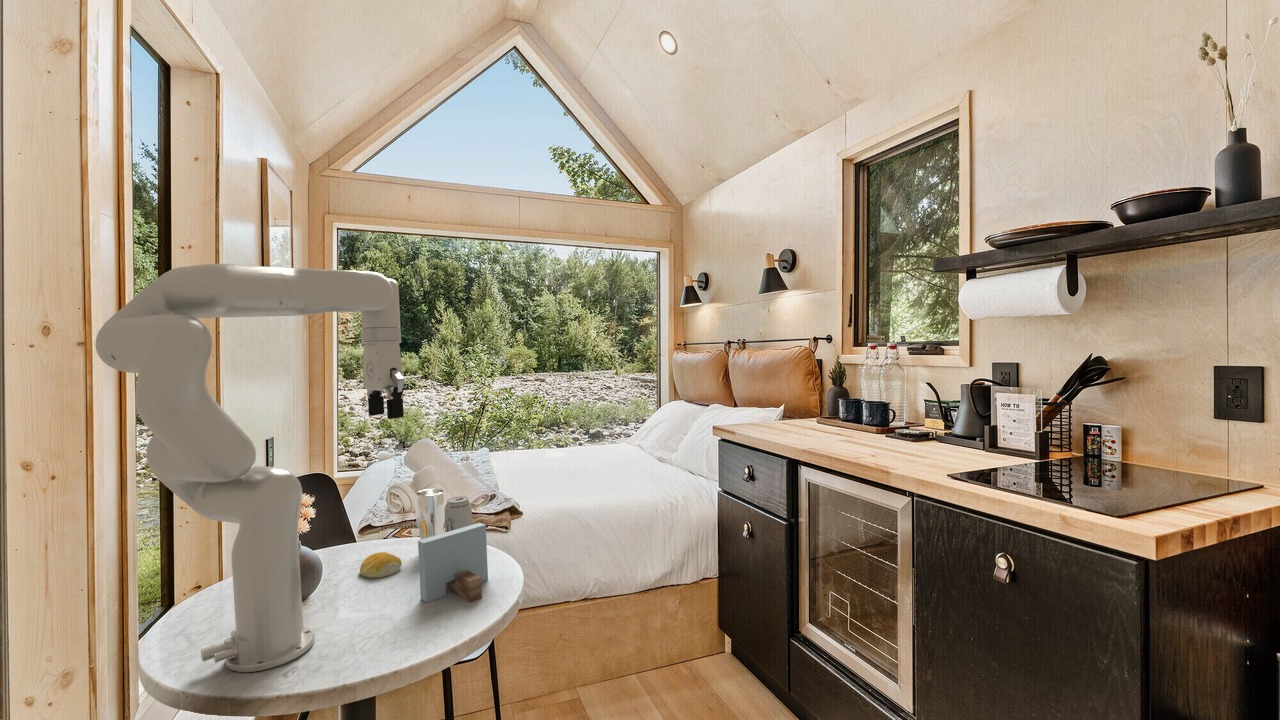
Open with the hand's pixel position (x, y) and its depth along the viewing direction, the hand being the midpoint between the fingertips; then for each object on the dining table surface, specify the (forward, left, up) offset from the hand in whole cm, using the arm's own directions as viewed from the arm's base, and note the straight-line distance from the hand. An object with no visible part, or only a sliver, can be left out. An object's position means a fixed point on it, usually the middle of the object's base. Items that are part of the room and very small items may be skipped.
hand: (385, 416), depth 123 cm
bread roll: (+1, +9, -37) cm, 38 cm away
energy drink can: (+15, -2, -36) cm, 39 cm away
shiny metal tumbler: (+14, +10, -36) cm, 40 cm away
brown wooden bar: (+7, -14, -36) cm, 39 cm away
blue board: (+7, -14, -36) cm, 39 cm away
